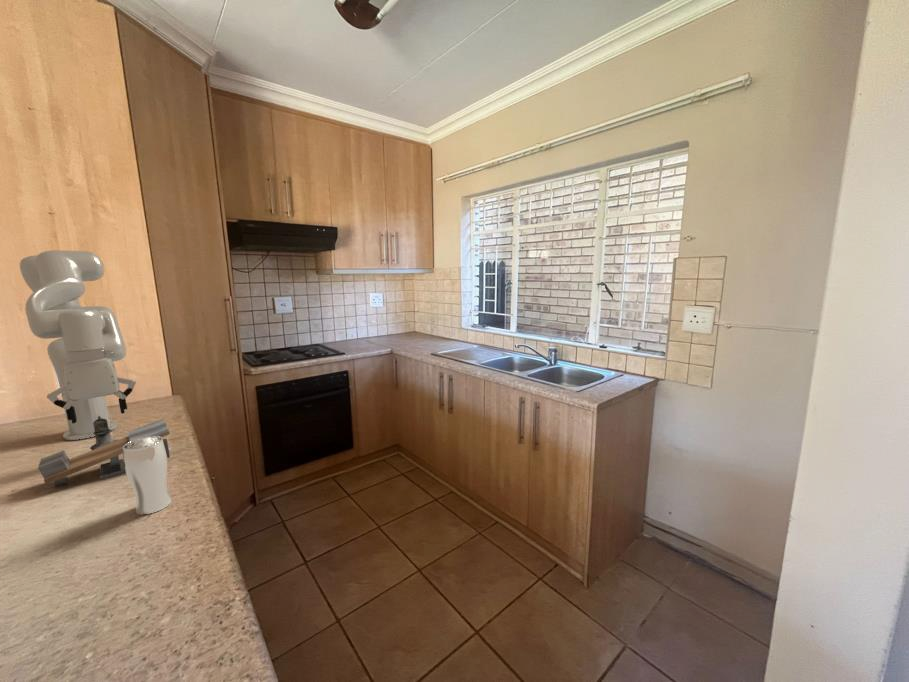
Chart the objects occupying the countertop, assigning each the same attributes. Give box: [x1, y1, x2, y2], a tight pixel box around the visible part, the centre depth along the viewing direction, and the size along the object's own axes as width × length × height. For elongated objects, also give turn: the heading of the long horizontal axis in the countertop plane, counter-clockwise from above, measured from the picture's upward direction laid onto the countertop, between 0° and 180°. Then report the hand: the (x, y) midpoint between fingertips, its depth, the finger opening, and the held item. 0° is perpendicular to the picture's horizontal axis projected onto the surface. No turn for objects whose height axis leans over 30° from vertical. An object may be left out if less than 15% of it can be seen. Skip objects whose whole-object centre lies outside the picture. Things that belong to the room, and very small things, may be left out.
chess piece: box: [89, 416, 119, 451], centre depth 102 cm, size 6×6×12 cm
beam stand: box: [53, 438, 170, 489], centre depth 95 cm, size 8×22×5 cm, turn 133°
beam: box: [37, 418, 171, 485], centre depth 94 cm, size 10×24×4 cm, turn 133°
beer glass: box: [122, 436, 172, 516], centre depth 79 cm, size 7×7×15 cm
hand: (99, 417), depth 101 cm, fingers open, 9 cm apart
